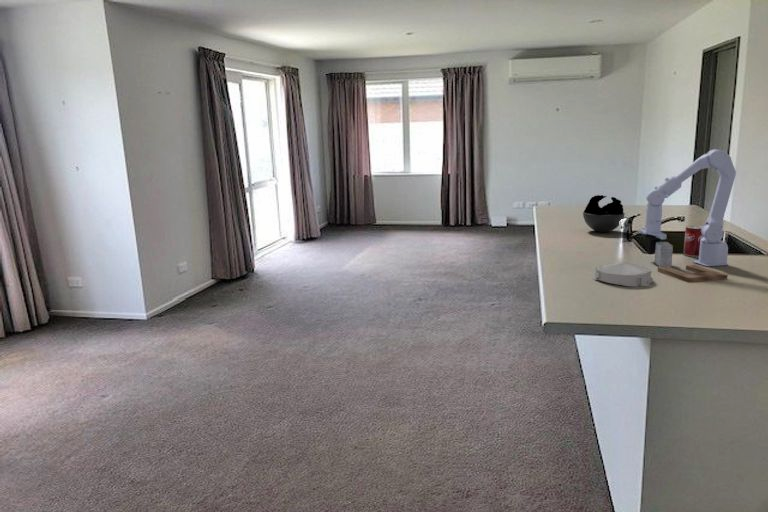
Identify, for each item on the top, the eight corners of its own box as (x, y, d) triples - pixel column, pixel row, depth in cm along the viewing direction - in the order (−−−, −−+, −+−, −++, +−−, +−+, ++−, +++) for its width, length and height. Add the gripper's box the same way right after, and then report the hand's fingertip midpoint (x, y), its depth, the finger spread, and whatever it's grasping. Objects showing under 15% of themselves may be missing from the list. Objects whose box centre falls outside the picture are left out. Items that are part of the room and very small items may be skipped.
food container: (616, 290, 195) (618, 271, 194) (581, 275, 214) (583, 257, 212) (666, 286, 200) (668, 267, 199) (628, 271, 219) (629, 254, 217)
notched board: (695, 268, 220) (695, 264, 220) (727, 278, 205) (727, 274, 205) (657, 271, 217) (657, 267, 217) (687, 282, 202) (687, 277, 202)
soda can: (701, 254, 244) (703, 225, 242) (704, 257, 238) (707, 228, 235) (681, 253, 247) (684, 225, 244) (684, 256, 240) (687, 228, 237)
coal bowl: (578, 228, 310) (580, 193, 306) (617, 228, 307) (620, 193, 303) (586, 235, 291) (588, 197, 286) (627, 235, 288) (630, 197, 284)
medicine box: (671, 267, 222) (673, 245, 220) (659, 267, 223) (660, 245, 221) (666, 263, 230) (667, 241, 228) (654, 262, 231) (655, 241, 229)
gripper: (633, 218, 237) (630, 250, 239) (656, 223, 223) (653, 258, 226) (648, 217, 238) (646, 249, 241) (672, 222, 224) (669, 257, 227)
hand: (650, 253), depth 233 cm, fingers closed
